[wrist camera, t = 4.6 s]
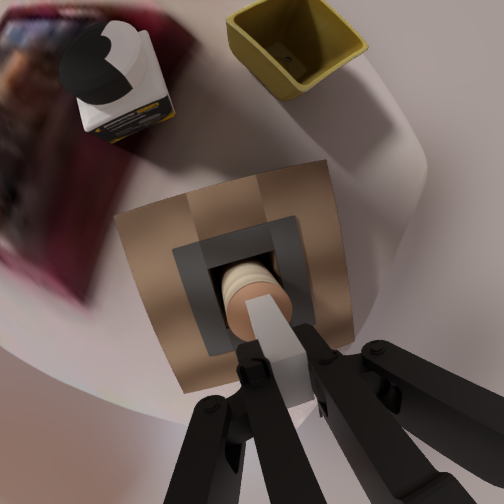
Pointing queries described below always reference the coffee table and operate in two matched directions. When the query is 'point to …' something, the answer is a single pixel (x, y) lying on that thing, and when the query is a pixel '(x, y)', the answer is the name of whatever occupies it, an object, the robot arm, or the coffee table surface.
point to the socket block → (232, 249)
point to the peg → (249, 293)
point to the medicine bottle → (115, 80)
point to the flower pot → (292, 43)
